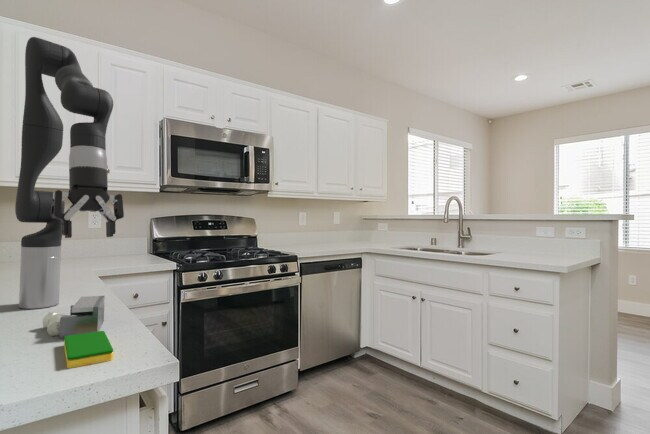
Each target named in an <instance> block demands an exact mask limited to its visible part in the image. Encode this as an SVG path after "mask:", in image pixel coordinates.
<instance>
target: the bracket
mask: <svg viewBox="0 0 650 434" xmlns="http://www.w3.org/2000/svg"><path fill="white" fill-rule="evenodd" d="M69 314H70V315H77V316H68V317H61V318H60V335H59V339H60V340H61V339H63V340H64V337H65V336H70V335H77V334H84V333H91V332H98V331H101V328H102V325H103V323H104V321H105V295H92V296H91V295H89V296H81V297H80V298H79V299H78V300H77V301H76V302H75V304H73V305H72V304H71V305H70V313H69Z"/></svg>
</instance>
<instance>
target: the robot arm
mask: <svg viewBox="0 0 650 434" xmlns="http://www.w3.org/2000/svg"><path fill="white" fill-rule="evenodd" d="M24 52H25V53H24V55H25V56H24V59H25V60H24V67H25V68H24V69H25V70H24V73H25V74H24V75H25V76H24V77H25V86H24V87H25V91H24V92H25V93H24V96H25V97H24V108H23V115H22V117H23V118H22V127H21V156H20V170H19V175H18V183H17V190H16V197H15V203H14V204H15V205H14V206H15V207H14V211H15V216H16V219H17V221H19V223H20V222H21V223H28V224H29V223H30V224H31V223H34V224H35V223H39V224H40V223H41V224H43V223H45V224H46V225H45V226H44V228H42V229H40V230H38V231H36V232H33V233H30V234H27V235H24V236H22V237H21V241H20V263H19V264H20V266H19V268H20V269H19V271H20V272H19V292H18V307H19V308H20V309H27V310H28V309H29V310H30V309H43V308H49V307H53V306H57V305H58V304H60V288H61V287H60V285H61V284H60V283H61V262H62V260H61V258H62V254H61V253H62V239H63V236H64V238H65V239H70V238H72V237H73V229H72V228H73V227H72V226H73V224H72V220H71V218H72V217H73V216H74V215H75V214H77V213H78V211H79V212H84V213H85V212H91V213H93V212H94V213H96V212H98V213H99V214H100V215H101V216H103V217H104V218H105V220H106V222H105V227H106V229H105V234H106V235H105V236H106V237H107V238H112V237H114V235H115V234H116V221H117V220H120V219H123V218H125V212H124V201H123V195H122V193H119V194H110V193H109V192H108V191H109V190H108V187H109V186H108V185H109V184H108V168H109V167H108V159H107V158H108V157H107V151H106V149H107V148H106V146H107V145H106V134H107V130H108V129H107V128H108V124H109V121H110V117H111V115H112V112H113V108H114V99H113V96H112V95H111V94H110V93H109V92H108V91H107V90H105V89H102V88H99V87H98V88H97V87H95V86H93V83H92V82H91V81H90V80H89V78H87V77H86V75H85V74H84V73H83V72H82V69H81V66H80V62H79V61H78V58H77V56H76V54H75V53H74V52H73V50H71V48H68V47H67V46H64V45H61V44H58V43H55V42H52V41H49V40H47V39H43V38H40V37H36V36H31V37H30V38H29V39H28V40H27V42H26V46H25V51H24ZM43 75H45V76H47V77H51V78H54V82H55V84H56V87H57V88H58V89H59V91H60V103H61V106H62V107H63V109H64V110H66V111H67V112H70V113H72V114H75V115H76V114H77V115H80V116H86V117H91V118H93V121H92V122H91V121H90V122H87V121H86V122H77V123H73V124H72V125H71V127H70V130H69V134H70V135H69V136H70V138H69V139H70V141H69V143H70V145H69V147H70V149H69V150H70V151H69V154H68V155H69V157H68V169H69V170H68V176H69V178H68V180H69V181H68V182H69V186H68V187H69V190H68V192H67V191H63V190H60V189H57V190H55V191H49V190H48V191H47V190H35V187H36V183H37V181H38V179H39V177H40V175H41V173H42V172H43V171H44V170H45V168H46V167H47V166H48V165H49V164H50V163H51V162H52V161H53V160H54V159H55V157H57V156H58V155H59V153H60V152H61V150H62V147H63V142H64V141H63V139H64V123H63V121H62V119H61V117H60V115H59V113H58V112H57V110H56V108H55V107H54V105H53V103H52V101H51V100H50V98H49V97H48V95H47V92H46V90H45V86H44V82H43ZM66 198H67V199H68V201H70V203H71V205H70V206H69V207H68V208H67V209H66V211H65V205H66V204H65V200H66ZM108 201H110V203H111V204H113V205H112V206H113V212H112V209H111V208H110V207H109V205H107V203H108Z"/></svg>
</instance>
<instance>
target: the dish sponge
mask: <svg viewBox="0 0 650 434" xmlns="http://www.w3.org/2000/svg"><path fill="white" fill-rule="evenodd" d="M63 340H64V341H63V348H64V354H65V361H66V367H67V369H74V368H77V367H84V366H89V365H95V364H101V363H105V362H110V361H113V360H114V348H113V346H112V343H111V342H110V340H109V338H108V336H107V334H106V332H105V331H104V330H99V331H98V332H91V333H84V334H77V335H70V336H65V337H64V338H63Z"/></svg>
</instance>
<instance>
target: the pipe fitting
mask: <svg viewBox="0 0 650 434" xmlns="http://www.w3.org/2000/svg"><path fill="white" fill-rule="evenodd" d="M68 316H77V315H69V314H60V313H55V312H48V313H47V314H46V315H45V316H44V317H43V318H42V327H43V328H45V329H46V332H47V334H48V336H51V337H53V336H60V318H61V317H68Z"/></svg>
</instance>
